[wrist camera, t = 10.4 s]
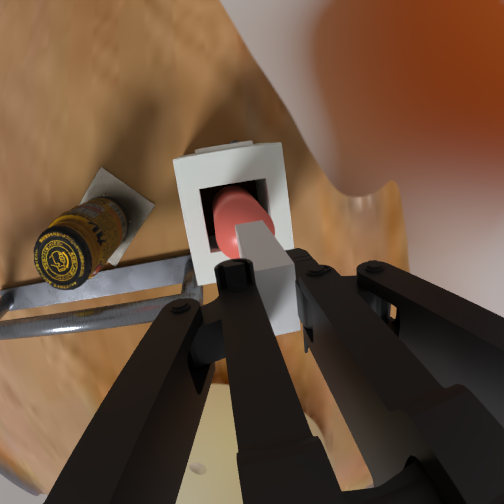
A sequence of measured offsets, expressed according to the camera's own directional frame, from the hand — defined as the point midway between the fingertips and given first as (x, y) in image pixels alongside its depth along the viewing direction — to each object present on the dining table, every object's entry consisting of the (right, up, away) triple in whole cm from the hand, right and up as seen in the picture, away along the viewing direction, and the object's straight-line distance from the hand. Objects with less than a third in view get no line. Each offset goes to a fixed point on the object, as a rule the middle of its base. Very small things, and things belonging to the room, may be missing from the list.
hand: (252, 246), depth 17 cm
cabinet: (-2, +6, +16) cm, 17 cm away
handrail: (-19, -4, +17) cm, 26 cm away
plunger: (-2, +4, +11) cm, 11 cm away
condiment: (-16, +3, +15) cm, 22 cm away
